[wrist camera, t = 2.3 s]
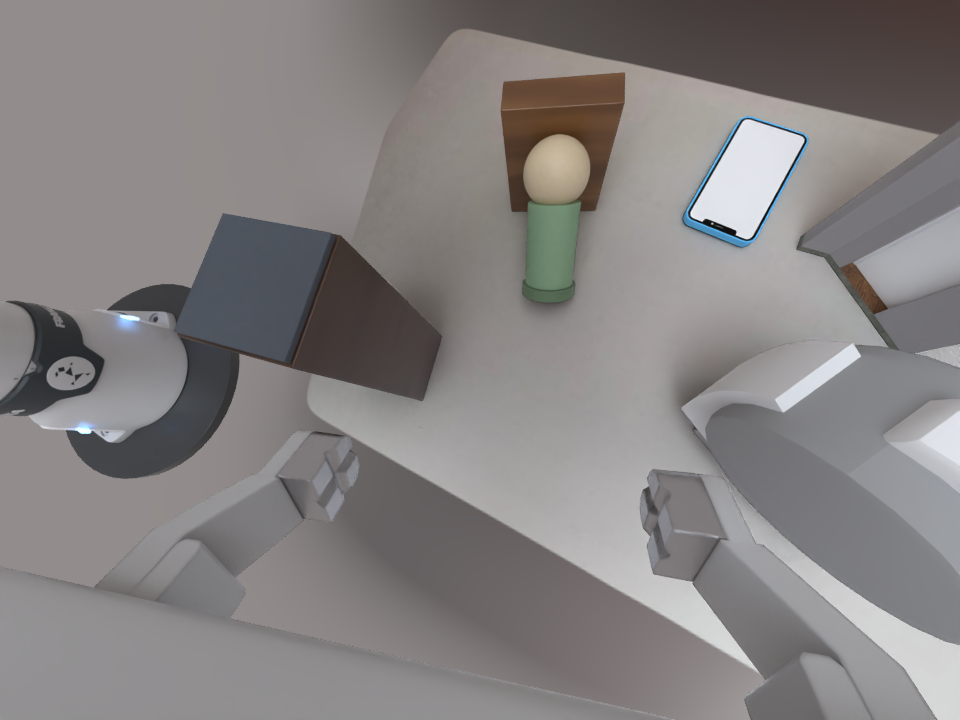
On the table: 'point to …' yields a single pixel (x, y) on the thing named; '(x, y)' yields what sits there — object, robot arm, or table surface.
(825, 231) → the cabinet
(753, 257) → the table surface
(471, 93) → the table surface
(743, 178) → the smartphone
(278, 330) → the mat
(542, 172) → the toy
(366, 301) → the pedestal
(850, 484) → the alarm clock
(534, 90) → the wooden block
